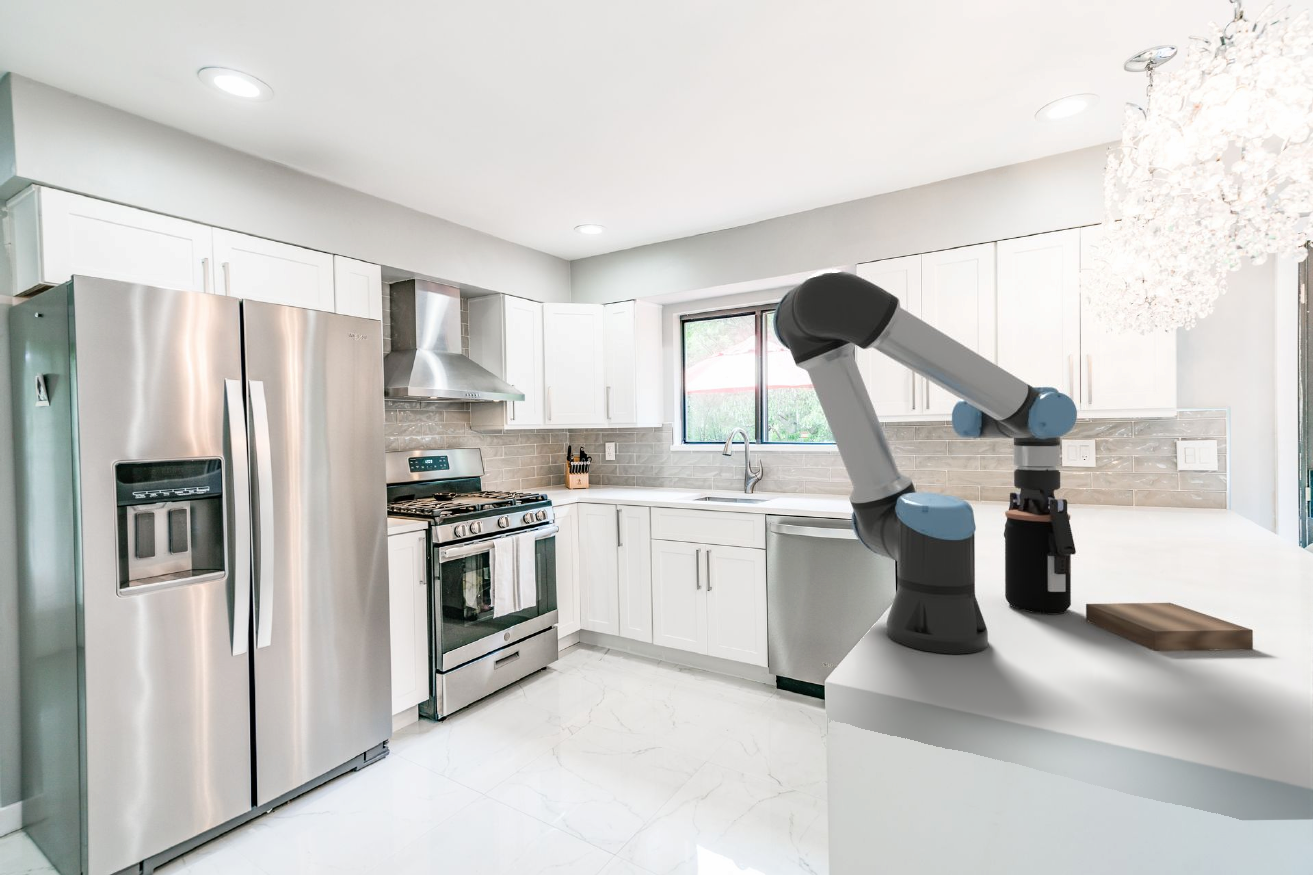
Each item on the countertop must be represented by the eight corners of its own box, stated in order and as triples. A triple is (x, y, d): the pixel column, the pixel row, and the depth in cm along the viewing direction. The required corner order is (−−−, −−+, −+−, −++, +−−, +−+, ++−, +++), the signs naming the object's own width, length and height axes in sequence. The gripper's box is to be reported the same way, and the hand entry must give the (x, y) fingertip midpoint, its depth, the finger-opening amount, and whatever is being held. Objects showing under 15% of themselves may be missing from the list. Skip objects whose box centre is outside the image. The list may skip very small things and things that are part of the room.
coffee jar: (1084, 615, 111) (1084, 516, 111) (1025, 615, 111) (1025, 516, 111) (1048, 599, 121) (1047, 509, 121) (994, 599, 122) (993, 509, 122)
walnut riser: (1155, 650, 93) (1155, 631, 93) (1086, 620, 108) (1086, 603, 108) (1252, 649, 93) (1252, 630, 93) (1170, 619, 108) (1170, 602, 108)
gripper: (1100, 472, 104) (1100, 599, 105) (1020, 465, 128) (1020, 569, 128) (1057, 472, 105) (1057, 600, 105) (984, 465, 128) (984, 570, 128)
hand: (1037, 583), depth 116 cm, fingers closed on coffee jar, 11 cm apart
